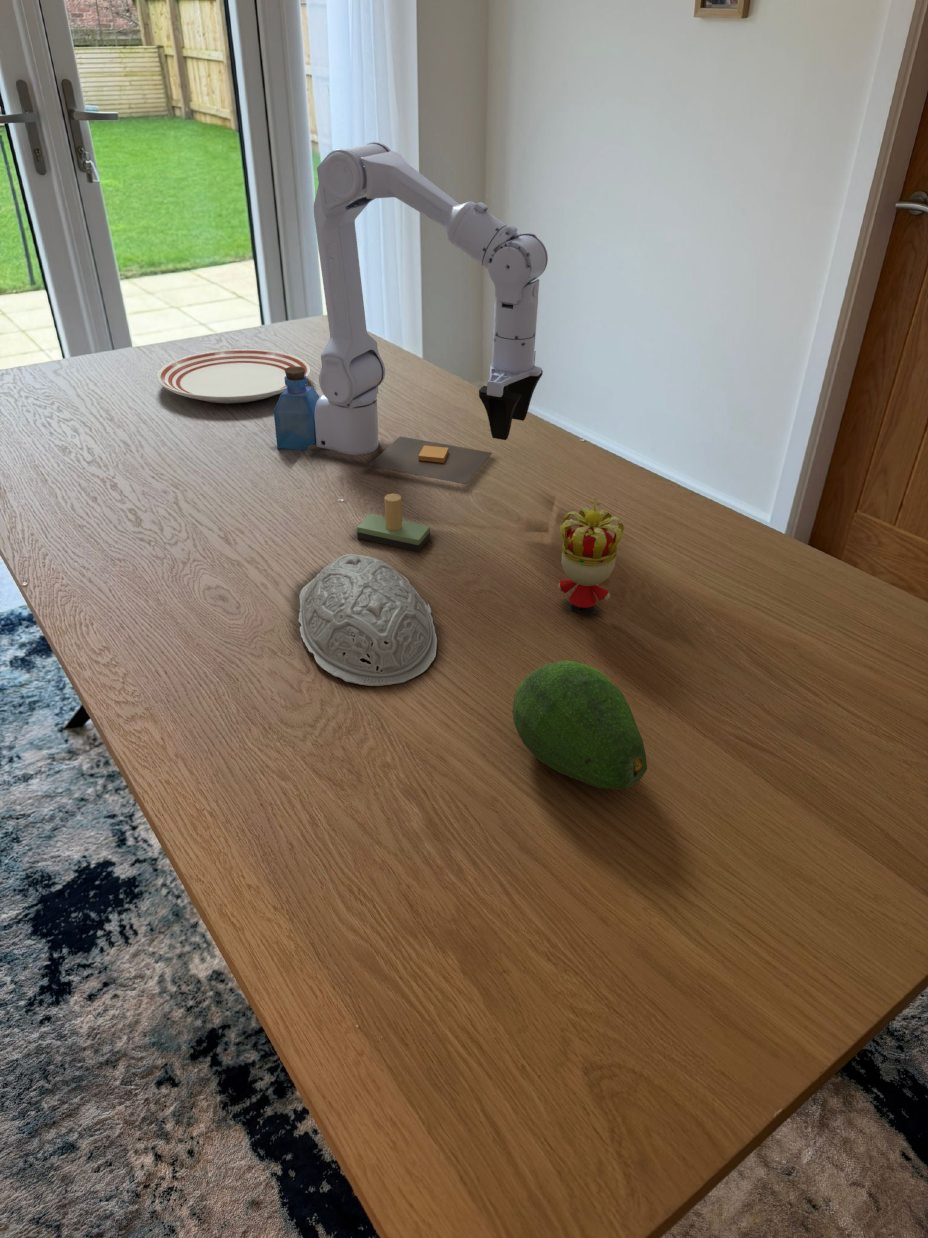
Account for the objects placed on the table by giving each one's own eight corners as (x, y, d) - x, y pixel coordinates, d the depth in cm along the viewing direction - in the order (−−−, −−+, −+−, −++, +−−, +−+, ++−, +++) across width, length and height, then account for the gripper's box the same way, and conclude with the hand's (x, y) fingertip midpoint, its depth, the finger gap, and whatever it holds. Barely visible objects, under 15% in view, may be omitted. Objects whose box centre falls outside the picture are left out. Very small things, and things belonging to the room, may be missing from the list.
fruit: (666, 798, 83) (683, 716, 77) (576, 836, 79) (588, 753, 73) (573, 703, 93) (583, 625, 88) (491, 732, 89) (495, 653, 84)
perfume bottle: (324, 435, 148) (319, 364, 142) (315, 450, 143) (309, 377, 136) (287, 432, 149) (280, 361, 142) (277, 448, 144) (269, 375, 137)
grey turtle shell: (315, 693, 93) (316, 638, 89) (285, 578, 113) (286, 530, 110) (457, 681, 97) (464, 629, 94) (404, 574, 118) (408, 527, 114)
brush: (357, 538, 121) (355, 497, 117) (370, 525, 124) (368, 484, 120) (418, 551, 118) (418, 510, 115) (430, 538, 121) (430, 496, 118)
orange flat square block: (418, 460, 138) (418, 455, 138) (424, 449, 142) (424, 445, 141) (443, 462, 138) (443, 458, 137) (448, 452, 141) (448, 447, 141)
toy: (617, 600, 110) (633, 490, 101) (605, 632, 104) (621, 518, 95) (560, 589, 111) (571, 479, 103) (545, 620, 106) (556, 507, 97)
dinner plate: (172, 362, 175) (169, 345, 173) (313, 360, 178) (312, 344, 176) (147, 416, 153) (143, 398, 151) (308, 413, 156) (307, 395, 154)
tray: (368, 472, 137) (367, 465, 137) (400, 442, 147) (399, 436, 146) (465, 491, 133) (465, 483, 132) (492, 459, 142) (492, 452, 141)
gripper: (525, 353, 113) (518, 452, 121) (558, 322, 124) (550, 415, 132) (473, 345, 115) (470, 443, 123) (510, 315, 127) (506, 407, 134)
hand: (509, 428), depth 128 cm, fingers open, 7 cm apart
